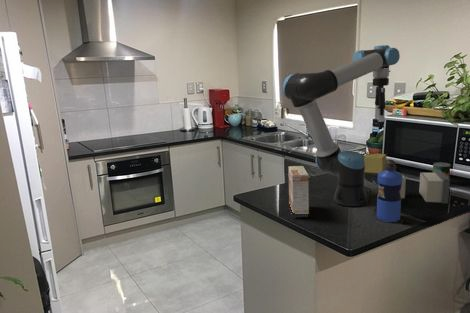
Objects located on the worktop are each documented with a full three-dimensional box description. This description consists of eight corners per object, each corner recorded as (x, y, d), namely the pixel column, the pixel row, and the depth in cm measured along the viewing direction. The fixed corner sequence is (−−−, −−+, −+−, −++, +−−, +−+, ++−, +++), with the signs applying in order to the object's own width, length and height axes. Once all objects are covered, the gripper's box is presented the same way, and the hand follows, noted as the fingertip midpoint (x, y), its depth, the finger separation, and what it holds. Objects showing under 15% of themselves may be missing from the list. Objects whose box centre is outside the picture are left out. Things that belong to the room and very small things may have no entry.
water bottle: (394, 213, 157) (397, 156, 152) (404, 222, 148) (407, 162, 143) (372, 214, 157) (374, 158, 152) (381, 223, 148) (383, 163, 143)
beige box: (384, 197, 177) (385, 177, 174) (382, 193, 182) (383, 173, 180) (404, 198, 174) (405, 177, 172) (402, 194, 180) (403, 174, 178)
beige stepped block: (426, 202, 168) (428, 179, 165) (418, 191, 183) (420, 169, 181) (448, 203, 165) (450, 179, 163) (438, 191, 181) (440, 169, 178)
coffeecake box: (288, 206, 172) (287, 166, 168) (304, 205, 172) (303, 165, 168) (292, 219, 158) (291, 175, 153) (309, 218, 157) (309, 174, 153)
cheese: (368, 168, 229) (369, 152, 227) (386, 170, 223) (387, 154, 221) (363, 172, 221) (363, 156, 219) (382, 174, 215) (382, 157, 212)
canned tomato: (445, 188, 186) (447, 167, 183) (429, 185, 191) (430, 164, 189) (451, 184, 191) (453, 163, 188) (435, 181, 196) (436, 161, 194)
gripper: (392, 77, 172) (391, 123, 176) (385, 76, 195) (383, 116, 200) (375, 78, 173) (374, 123, 178) (370, 77, 197) (369, 116, 202)
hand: (379, 119), depth 189 cm, fingers open, 13 cm apart
